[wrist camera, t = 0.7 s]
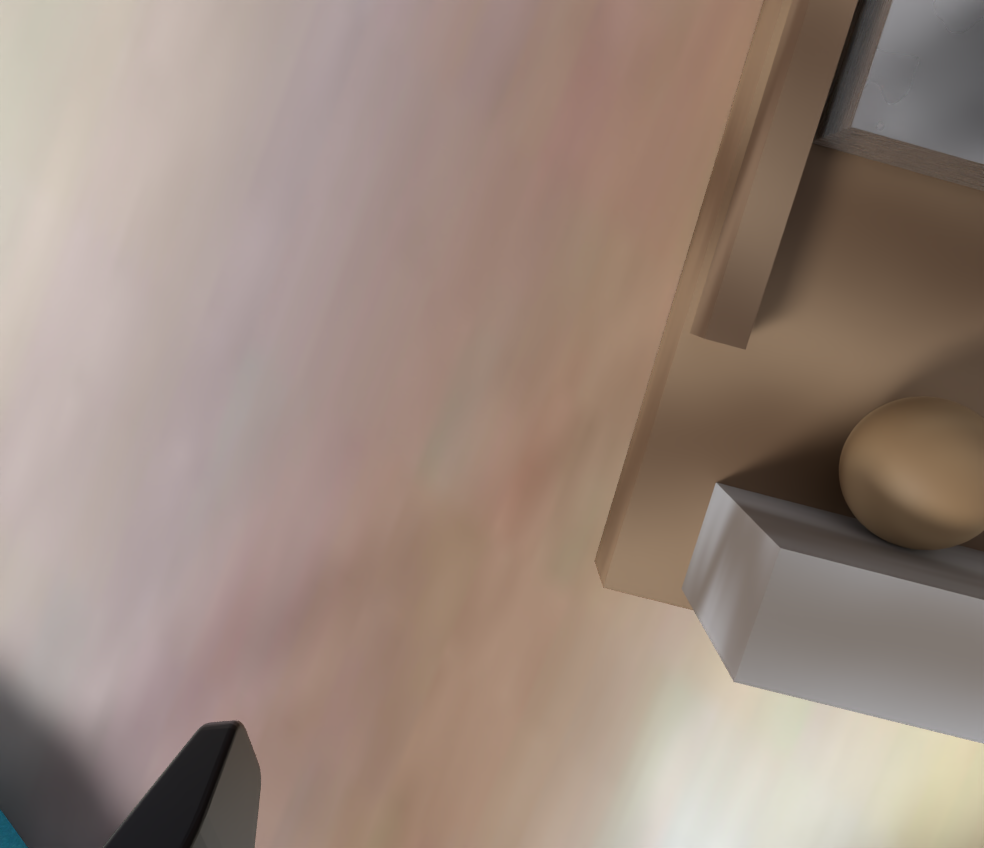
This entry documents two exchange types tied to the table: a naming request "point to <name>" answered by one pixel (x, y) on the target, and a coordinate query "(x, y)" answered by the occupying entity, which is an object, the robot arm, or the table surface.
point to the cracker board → (819, 412)
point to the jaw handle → (911, 88)
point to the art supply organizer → (9, 834)
